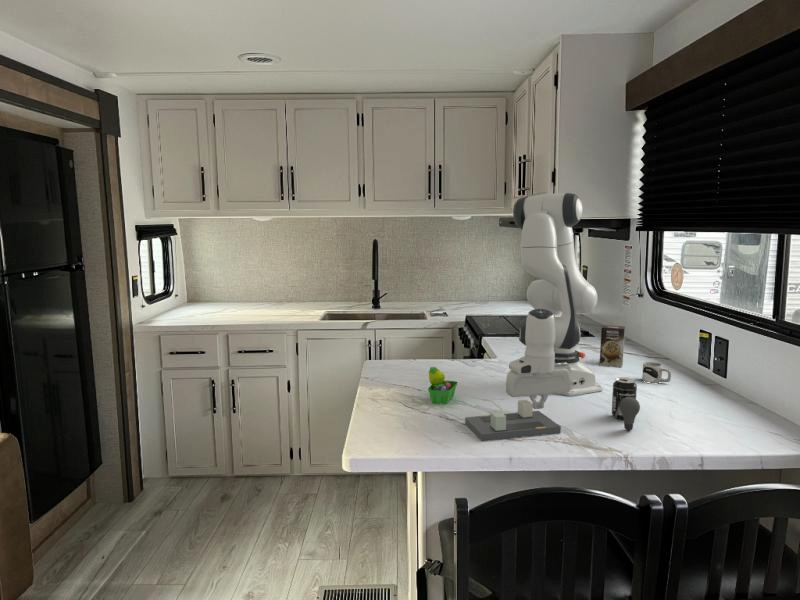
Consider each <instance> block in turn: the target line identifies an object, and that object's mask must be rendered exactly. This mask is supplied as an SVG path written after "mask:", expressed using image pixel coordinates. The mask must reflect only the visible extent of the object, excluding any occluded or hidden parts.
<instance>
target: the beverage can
mask: <svg viewBox="0 0 800 600" xmlns="http://www.w3.org/2000/svg"><path fill="white" fill-rule="evenodd" d="M635 381H636V380H635V379H634V378H630V377H623V376H622V377H619V376H618V377H616V378H615V380H614V382H613V383H612V396H611V397H612V398H611V414H612V416H613V417H614V418H616V419H618V420H622V421H624V419H623V415H622V413H621V410H620V407H619V405H620V402H621V400H622V399H623V398H626V397H633V398H635V399H636V400H637V389H638V388H637V387H638V385H637V384H636V382H635Z"/></svg>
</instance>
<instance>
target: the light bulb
mask: <svg viewBox="0 0 800 600" xmlns="http://www.w3.org/2000/svg"><path fill="white" fill-rule="evenodd" d="M640 405H641V404H640V402H639V401H638V399H637V398H636V399H635V398H633V397H626V398H623V399H622V400H621V402H620V405H619V407H620V410H621V413H622V415H623V419H624V420H623V425H624V428H623V429H625V430H626V431H627V432H630V431H632V430H633V429H634V423H635V419H636V417H637V415H638V414H639V412H640V411H641V406H640Z"/></svg>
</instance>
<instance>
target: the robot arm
mask: <svg viewBox="0 0 800 600" xmlns="http://www.w3.org/2000/svg"><path fill="white" fill-rule="evenodd" d="M583 209H584V208H583V204H582V200H581V198H580V197H579V195H578V194H575V193H572V192H566V193H546V194H538V195H533V196H527V195H526V196H524V197H520V198H518V199H517V200H516V201H515V203H514V205H513V210H512V211H513V212H512V217H513V221H514V223H515V224H516V227H518V228H519V229H521V237H520V262H521V265H522V267H523V269H524V270H525V271H526V272H527V273H528V274H530V275H531V276H533V277H535V278H537V280H533V281H531V282H530V284H529V285H528V286H527V290H526V299H527V302H528V304H529V305H530V306H531V307H532V308H533V309H532V310H530V311H528V313H527V316H526V317H524V318H523V319H522V320H521V321H520V322H519V338H518V340H519V342H520V343H521V344H523V345H524V346H525V350H524V356H522V357H520V358H517V359H516V360H512V361H510V362H509V363H508V368H509V371H508V372H507V375H506V379H505V392H506V394H507V395H508V396H509V397H511V398H517V397H518V398H519V397H529V399H530V402H531V403H532V404H533V410H539V409H540V410H541V409H544V407H545V403H546V401H547V400H548V398H549V397H548V395H554V394H555V395H561V396H566V397H567V396H568V397H574V396H579V395H580V396H581V395H585V394H590V393H591V394H592V393H597V392H603V386H602V385H601V384H599V382H597V381H596V375H595V373H594V371H593V370H592V369H591V368H589V366H588V365H586V364H585V363H584V362H582V361H581V360H580V359H585V358H586V353H585V352H583V351H578V350H577V349H576V346H577V345H578V344H579V343H580V340H581V336H582V335H581V329H580V325H579V322H578V321H579V320H578V317H577V314H579V315H580V314H588V313H591V312H592V311H594V309H595V308H596V306H597V304H598V293H597V290H596V288H595V287H594V286H593V285H592V284H591V283H589V282H588V281H587V280H586V279H585V278H584V276H583V274H582V273H581V271H580V269H579V266H578V264H577V260H576V252H575V242H574V241H575V240H574V232H573V227H574V226H575V225H577V224H578V223H579V222H580V221H581V219H582V215H583ZM537 396H540V399H539V401H536V399H537Z"/></svg>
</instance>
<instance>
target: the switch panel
mask: <svg viewBox="0 0 800 600" xmlns="http://www.w3.org/2000/svg"><path fill="white" fill-rule="evenodd" d="M503 414H504V415H505V416H506V430H500V431H496V430H494V429H493V428H492V427H491V414H486V415H477V416H467V417H464V425H465V426H467V428H469V429H470V430H471V431H472V433H474V435H475V436H476V437H478V439H480V441H481V442H486V441H488V440H489V441H496V440H497V439H499V440H507V438H508V439H515V438H514V437H518V438H523V437H522V436H528V437H532V436H531V435H538V436H543V435H542V434H547V435H555V433H557V434H561V432H562V431H561V429H562V426H561V425H559V424H558V422H555V421H554V420H553V419H551V418H549V417H548V416H547V415H546V414H544V413H542V412H541V411H540V410H533V412H532V417H524V418H523V417H522V416H520V415H519V414H518V413H517V412H511V413H508V412H507V413H503Z"/></svg>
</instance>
